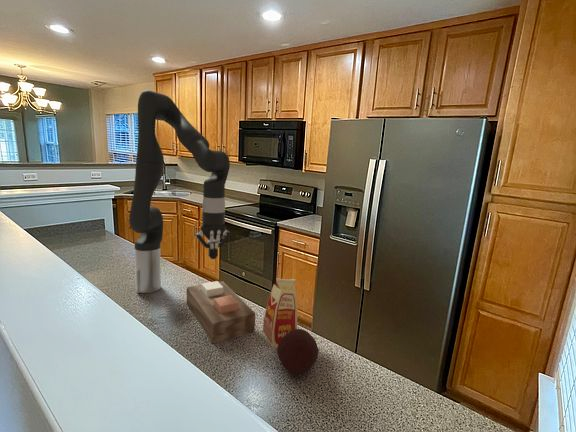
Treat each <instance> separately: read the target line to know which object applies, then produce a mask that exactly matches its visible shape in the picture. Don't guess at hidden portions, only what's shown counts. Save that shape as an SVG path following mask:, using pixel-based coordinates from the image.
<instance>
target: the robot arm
mask: <svg viewBox="0 0 576 432" xmlns="http://www.w3.org/2000/svg"><path fill="white" fill-rule="evenodd" d="M137 101H138V102H137V130H138V131H137V146H136V147H137V151H136V159H135V175H134V185H133V193H132V201H131V204H130V205H131V207H130V211H129V217H128V219H129V220H128V221H129V226H130V228H131V229H132V231H133V232H134V233H136V234H140V235H139V237H138V238H137V239H135V241H134V267H133V268H134V269H133V270H134V288H135V292H136V294H150V293H155V292H158V291H159V290H161V288H162V280H161V279H162V276H161V273H162V270H161V267H162V266H161V263H162V262H161V243H162V241H163V235H164V217H163V213H162V211H161V210H160V209H159V208H158V207H156V206H153V205H152V206H151V202H152V198H153V195H154V193H155V190H156V189H157V187H158V186H159V184H160V183H161V179H162V177H163V172H164V171H163V170H164V164H165V163H164V162H165V157H164V153H163V151H162V149H161V146H160V143H159V141H158V139H157V134H156V121H163V122H165V123H166V124H168V125H169V126H170V127H171V128H173V130H174V131H175V134H176V136H177V139H178V141H179V142H180V144H181V145H183V147H185V148H186V150H187V151H188V152H189V153H190V154H191V155H192V157H193V159H194V160H195V162H196V164H197V165H198V167H199V168H200V169H201V170H203V171H204V172H206V173H207V172H208V173H211V174H210V177H209V178H208V179H206V180H204V181H203V188H202V189H203V191H202V193H203V198H202V206H201V209H202V210H201V211H202V212H201V213H202V214H201V215H202V219H201V221H202V223H201V224H202V225H201V227H200V231H198V232H195V233H194V236H195V238H196V239H197V240H198V241H199V242H200V244H201V245H202V246H203V247H204V248H206V249H208V257H209V258H210V259H211V260H216V259H217V258H218V255H219V254H218V252H219V248H220V247H223V246H224V245H225V244H226V242H227V240H228V239H229V238H230V237H231V235H232V231H229V230H227V227H226V225H225V222H226V221H225V220H226V200H225V194H226V193H225V192H226V190H225V189H226V188H225V187H226V186H225V185H226V184H227V183H226V182H227V180H228V176H229V171H230V166H231V164H230V163H231V162H230V158H229V157H230V156H228V154H227V153H226V152H225V151H223V150H221V151H220V150H214V149H213V150H212V149H211V148H210V142H209V140H207V138H206V137H205V136H204V135H203V134H201V133H200V132H199V130H197V128H195V127H194V126H193V125H192V124H191V122H189V120H188V119H187V118H186V117H185V116H184V114H183V113H182V111H181V110H180V109H179V108H178V106H177V105H176V103H175V102H174V101H173V100H172V98H171V97H169V96H167V95H166V94H164V93H160V92H157V91H153V90H150V89H149V90H148V89H147V90H143V91H142V92H141V93H140V95H139V97H138V100H137ZM204 237H205V238H206V241H205V239H204Z"/></svg>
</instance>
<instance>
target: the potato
mask: <svg viewBox="0 0 576 432" xmlns="http://www.w3.org/2000/svg"><path fill="white" fill-rule="evenodd" d="M276 354H277V357H278V360H279V363H280V364H281V365H282V368H283V369H285V371H286V372H287V373H288V375H291V376H293V377H297V378H299V377H302V376H304V375H306V374H308V372H309V371H310V370H312V368H313V367H314V366H315V363H316V362H317V360H318V357H319V347H318V343H317V341H316V339H315V338H314V337H313V336H312V335H311V333H309V332H308V331H307V330H304V329H302V328H297V329H294V330H291V331H290V332H289V333H287V334H286V335H285V336H284V337H283V338H282V340H281V341H280V342H279V344H278V347H276Z"/></svg>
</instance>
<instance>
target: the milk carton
mask: <svg viewBox="0 0 576 432" xmlns="http://www.w3.org/2000/svg"><path fill="white" fill-rule="evenodd" d="M275 279H276V282H274V283H273V285H272V287H271V288H272V289H271V290H270V294H269V297H268V300H267V304H266V309H265V312H264V317H263V323H262V324H263V326H262V333H263V335H264V337H265V339H266V340H267V342H268V343H269V344H270V346H271V347H272V349H274V348H276V349H277V347H278V344H279V342H280V341H281V340H282V338H283V337H284V336H285V335H286V334H287V333H289V332H290V331H291V330H294V329H298V305H297V304H298V303H297V292H296V286H295V282H297V280H296V279H293V278H292V279H284V278H279V277H278V278H275Z"/></svg>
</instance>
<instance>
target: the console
mask: <svg viewBox="0 0 576 432" xmlns="http://www.w3.org/2000/svg"><path fill="white" fill-rule="evenodd" d="M218 282H219V283H220V284H221V285H222V286H223V294H221V295H216V296H211V297H205V295H204V294H203V293H202V292H201V284H198V285H194V286H193V285H192V286H187V287H186V305H187V307H188V309H189V310H190V311H191V313H192V314H193V316H194V317H195V319H196V320H197V322H198V324H199V325H200V327H201V329H202V330H203V331H204V333H205V334H206V336H207V338H208V339H209V341H210V342H211V344H215V343H219V342H222V341H227V340H230V339H234V338H237V337H241V336H245V335H248V334H252V333H255V331H256V328H255V327H256V315H257V313H256V312H255V311H254V310H253V309H252V308H251V307H250V306H249V305H248V304H247V303H246V302H245V301H244V300H243V299H241V297H240V296H239V295H238V294H237V293H235V291H234V290H233V289H232V288H231V287H230V286H229V285H228V284H227V283H225V282H224V281H223V280H222V281H218ZM229 295H232V296H233V298H234V299H235V300H236V301H237V302H238V310H237V311H232V312H228V313H224V314H219V313H218V312H217V310H216V309H215V308H214V298H219V297H224V296H229Z"/></svg>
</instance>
